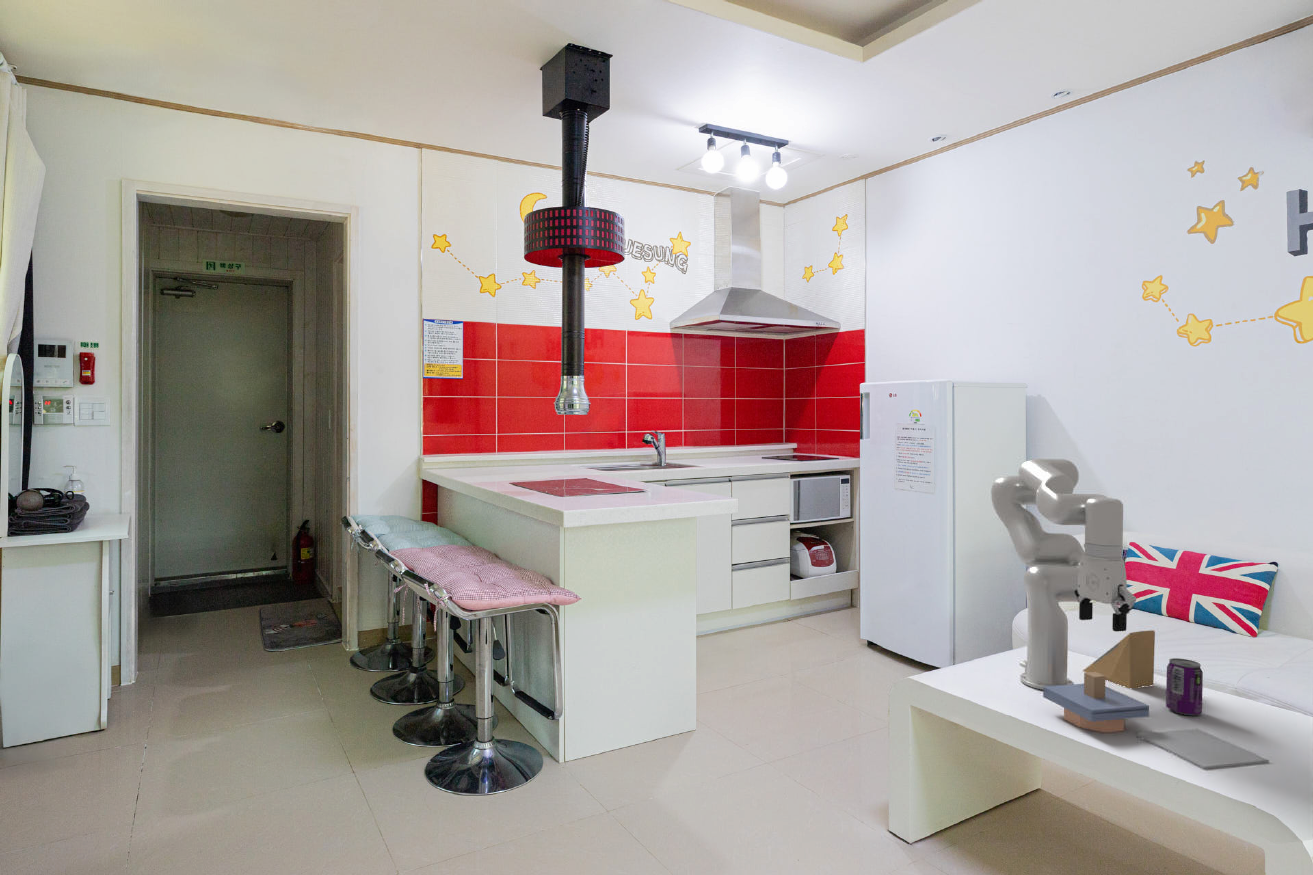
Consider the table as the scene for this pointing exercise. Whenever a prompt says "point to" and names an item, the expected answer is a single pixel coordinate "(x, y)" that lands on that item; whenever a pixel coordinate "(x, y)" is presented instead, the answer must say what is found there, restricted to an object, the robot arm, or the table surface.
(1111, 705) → the cover
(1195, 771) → the table surface
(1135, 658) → the sandwich container
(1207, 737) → the mat
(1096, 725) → the bowl
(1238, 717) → the table surface
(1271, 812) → the table surface
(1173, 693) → the beverage can
